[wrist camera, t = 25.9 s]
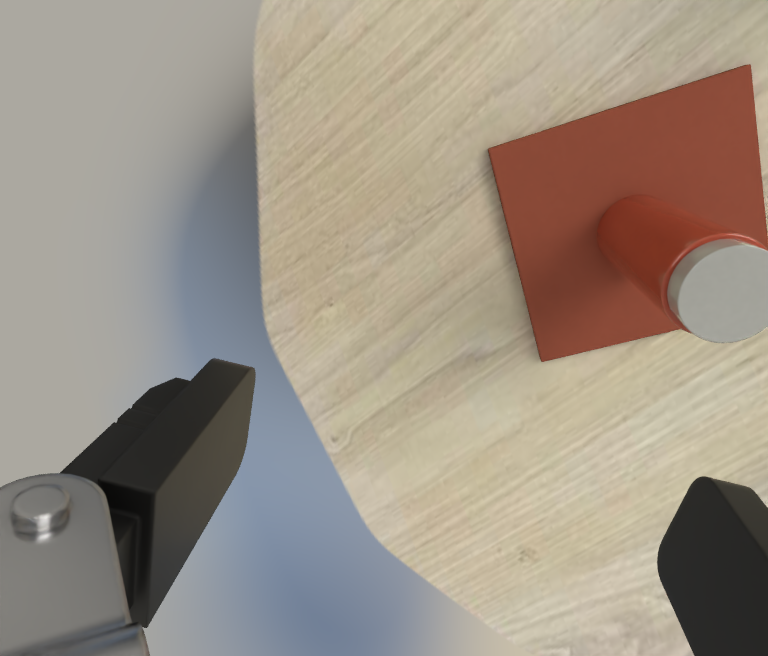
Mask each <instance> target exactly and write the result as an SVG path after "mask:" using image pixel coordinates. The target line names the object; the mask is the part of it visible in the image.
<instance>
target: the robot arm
mask: <svg viewBox="0 0 768 656" xmlns="http://www.w3.org/2000/svg"><path fill="white" fill-rule="evenodd" d="M254 385H255V369H254V368H253V367H249V366H244V365H240V364H236V363H232V362H228V361H224V360H220V359H215V358H214V359H211V360H210V361H209V362H208V363H207V364H206V365H205V366H204V367H203V369H201V370H200V371H199V372H198V374H197V375H196V376H195V377H194V378H193V379H192V380H191V381H188V380H184V379H180V378H174V379H172V380H169V381H167V382H165V383H162V384H160V385H157V386H155V387H153V388H150V389H149V390H148V391H147V392H146V393H145V394H144V395H143V396H142V397H141V398H140V399H138V400H137V401H136V402H135V403H134V404H133V406H132V408H131V409H130V408H129V409H128V410H127V411H126V412H125V413H123V414H122V415H121V416H120V417H119V418H118V421H117V423H115V422H114V423H113V424H112V425H111V426H110V427H108V428H107V429H106V430H105V431H104V432H103V433H102V434H101V435H100V436H99V437H98V438H97V439H96V440H95V441H94V442H93V443H91V444H90V445H89V446H88V447H87V448H86V449H85V450H84V451H83V452H82V453H81V454H80V455H79V456H78V457H76V458H75V459H74V460H73V461H72V462H71V463H70V464H69V465H68V466H67V467H66V468H65V469H64V470H63V471H62V472H60V473H55V474H41V475H35V476H30V477H26V478H23V479H19V480H16V481H13V482H11V483H8V484H6V485H4V486H2V487H0V656H150V654H149V650H148V645H147V641H146V637H145V634H144V631H143V628H142V627H144V628H147V627H148V625H149V623H150V622H151V620H152V618H153V616H154V615H155V613H156V611H157V610H158V608H159V606H160V605H161V603H162V601H163V599H164V598H165V596H166V594H167V593H168V591H169V589H170V587H171V586H172V584H173V582H174V580H175V579H176V577H177V575H178V574H179V572H180V570H181V569H182V567H183V565H184V563H185V562H186V560H187V558H188V556H189V555H190V553H191V551H192V549H193V548H194V546H195V544H196V543H197V540H198V539H199V538H200V536H201V534H202V532H203V530H204V529H205V527H206V526H207V524H208V522H209V520H210V519H211V517H212V515H213V513H214V512H215V510H216V508H217V506H218V505H219V503H220V501H221V500H222V498H223V496H224V494H225V493H226V491H227V489H228V488H229V486H230V484H231V483H232V480H233V479H234V477H235V476H236V474H237V471H238V469H239V467H240V465H241V462H242V459H243V456H244V452H245V448H246V443H247V438H248V430H249V423H250V415H251V408H252V401H253V393H254ZM657 565H658V573H659V577H660V580H661V582H662V585H663V587H664V589H665V591H666V593H667V596H668V598H669V600H670V602H671V605H672V607H673V609H674V611H675V613H676V616H677V618H678V620H679V622H680V625H681V627H682V629H683V631H684V633H685V636H686V638H687V640H688V642H689V645H690V647H691V649H692V651H693V653H694V656H768V508H767V507H766V505H765V504H764V503H763V502H762V500H761V499H760V498H759V497H758V495H757V494H756V493H755V492H754V491H753V490H752V489H751V488H749V487H746V486H742V485H738V484H734V483H730V482H726V481H721V480H717V479H713V478H709V477H699V478H697V479H696V480H695V481H694V482H693V483H692V484H691V486H690V487H689V489H688V491H687V493H686V495H685V497H684V499H683V501H682V503H681V505H680V507H679V509H678V510H677V512H676V514H675V516H674V518H673V520H672V522H671V524H670V526H669V528H668V530H667V532H666V534H665V536H664V538H663V539H662V542H661V544H660V547H659V551H658V560H657Z"/></svg>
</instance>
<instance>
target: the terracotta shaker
mask: <svg viewBox="0 0 768 656" xmlns="http://www.w3.org/2000/svg"><path fill="white" fill-rule="evenodd" d="M597 244H598V247H599V250H600V252H601V253H602V255H603V256H604V257H605V258H606V259H607V260H608V261H609V262H610V263H611V264H612V265H613V266H614V267H615V268H616V269H617V270H618V271H619V272H620V273H621V274H622V275H623V276H624V277H625V278H627V279H628V280H629V281H630V282H631V283H632V284H633V285H634V286H635V287H636V288H637V289H638V290H639V291H640V292H641V293H642V294H643V295H644V296H645V297H647V298H648V299H649V300H650V301H651V302H652V303H653V304H654V305H655V306H656V307H657V308H658V309H659V310H660V311H661V312H662V313H663V314H664V315H665V316H667V317H668V318H669V319H670V320H671V321H672V322H673V323H674V324H675V325H676V326H678V327H679V328H681V329H682V330H684V331H687V332H689V333H692V334H694V335H696V336H697V337H699V338H701V339H703V340H706V341H710V342H715V343H732V342H737V341H741V340H745V339H747V338H750V337H752V336H754V335H756V334H758V333H759V332H761V331H762V330H764V329H765V328H766V327H768V250H767V248H766V247H765V246H764V245H762V244H761V243H760V242H758V241H757V240H755V239H753V238H751V237H749V236H747V235H744V234H742V233H740V232H737V231H735V230H733V229H730V228H728V227H726V226H723V225H721V224H718V223H716V222H714V221H711V220H709V219H707V218H704V217H702V216H699V215H697V214H695V213H692V212H690V211H688V210H685V209H683V208H681V207H678V206H676V205H673V204H671V203H669V202H666V201H664V200H662V199H659V198H657V197H654V196H651V195H646V194H637V195H631V196H628V197H625V198H623V199H621V200H619V201H617V202H616V203H614V204H613V205H612V206H611V207H610V208H609V209H608V210H607V211H606V212H605V213H604V215H603V216H602V218H601V220H600V222H599V225H598V229H597Z"/></svg>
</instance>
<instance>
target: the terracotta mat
mask: <svg viewBox="0 0 768 656" xmlns="http://www.w3.org/2000/svg"><path fill="white" fill-rule="evenodd" d="M488 152H489V156H490V160H491V164H492V168H493V172H494V176H495V180H496V184H497V188H498V192H499V196H500V200H501V204H502V208H503V212H504V216H505V220H506V224H507V228H508V232H509V236H510V240H511V244H512V248H513V252H514V256H515V260H516V264H517V268H518V272H519V276H520V280H521V284H522V287H523V291H524V295H525V299H526V303H527V307H528V311H529V315H530V319H531V323H532V327H533V331H534V335H535V339H536V343H537V347H538V351H539V355H540V359H541V361H542V362H544V361H548V360H552V359H557V358H561V357H565V356H569V355H573V354H578V353H582V352H586V351H590V350H594V349H599V348H603V347H607V346H611V345H615V344H619V343H624V342H628V341H632V340H636V339H640V338H645V337H649V336H653V335H657V334H661V333H665V332H670V331H674V330H678V329H681V328H679V327H678V326H676V325H675V324H674V323H673V322H672V321H671V320H670V319H669V318H668V317H667V316H665V315H664V314H663V313H662V312H661V311H660V310H659V309H658V308H657V307H656V306H655V305H654V304H653V303H652V302H651V301H650V300H649V299H648V298H647V297H645V296H644V295H643V294H642V293H641V292H640V291H639V290H638V289H637V288H636V287H635V286H634V285H633V284H632V283H631V282H630V281H629V280H628V279H627V278H625V277H624V276H623V275H622V274H621V273H620V272H619V271H618V270H617V269H616V268H615V267H614V266H613V265H612V264H611V263H610V262H609V261H608V260H607V259H606V258H605V257H604V256H603V255H602V253H601V252H600V250H599V247H598V244H597V229H598V225H599V222H600V220H601V218H602V216H603V215H604V213H605V212H606V211H607V210H608V209H609V208H610V207H611V206H612V205H613V204H614V203H616V202H617V201H619V200H621V199H623V198H625V197H628V196H631V195H637V194H646V195H651V196H654V197H657V198H659V199H662V200H664V201H666V202H669V203H671V204H673V205H676V206H678V207H681V208H683V209H685V210H688V211H690V212H692V213H695V214H697V215H699V216H702V217H704V218H707V219H709V220H711V221H714V222H716V223H718V224H721V225H723V226H726V227H728V228H730V229H733V230H735V231H737V232H740V233H742V234H744V235H747V236H749V237H751V238H753V239H755V240H757V241H758V242H760V243H761V244H762V245H764V246H765V247H766V248H767V250H768V238H767V228H766V217H765V207H764V197H763V186H762V176H761V166H760V155H759V145H758V135H757V124H756V114H755V104H754V93H753V83H752V73H751V65H744V66H741V67H738V68H734V69H731V70H728V71H725V72H722V73H719V74H716V75H713V76H710V77H707V78H704V79H701V80H698V81H694V82H691V83H688V84H685V85H682V86H679V87H676V88H673V89H670V90H667V91H664V92H661V93H658V94H654V95H651V96H648V97H645V98H642V99H639V100H636V101H633V102H630V103H627V104H624V105H621V106H618V107H614V108H611V109H608V110H605V111H602V112H599V113H596V114H593V115H590V116H587V117H584V118H581V119H578V120H574V121H571V122H568V123H565V124H562V125H559V126H556V127H553V128H550V129H547V130H544V131H541V132H538V133H535V134H531V135H528V136H525V137H522V138H519V139H516V140H513V141H510V142H507V143H504V144H501V145H498V146H495V147H491V148H489V149H488Z"/></svg>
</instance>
